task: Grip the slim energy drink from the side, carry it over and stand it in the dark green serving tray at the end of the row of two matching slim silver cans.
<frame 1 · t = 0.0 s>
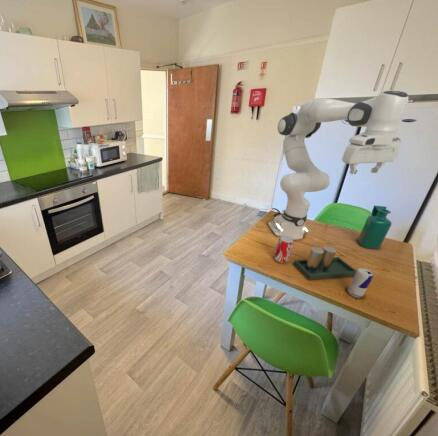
hand: (363, 173, 98), 48 cm above the table, tool pointing down, fingers open, 8 cm apart
soda can: (280, 260, 125), on the table
matching cans: (319, 259, 114), in the drinks tray
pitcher: (367, 244, 136), on the table
drinks tray: (323, 269, 117), on the table
energy drink: (354, 293, 103), on the table
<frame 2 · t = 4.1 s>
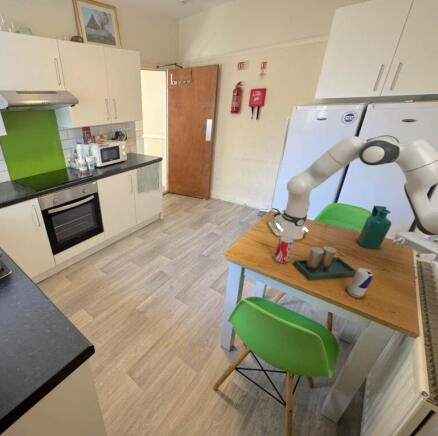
hand: (405, 249, 94), 22 cm above the table, tool horizontal, fingers open, 8 cm apart
nothing on the table moved.
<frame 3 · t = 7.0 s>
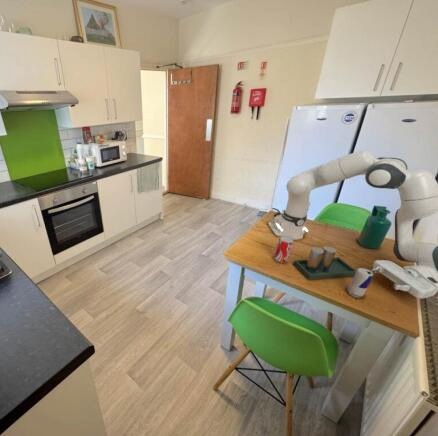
hand: (383, 278, 101), 7 cm above the table, tool horizontal, fingers open, 8 cm apart
nothing on the table moved.
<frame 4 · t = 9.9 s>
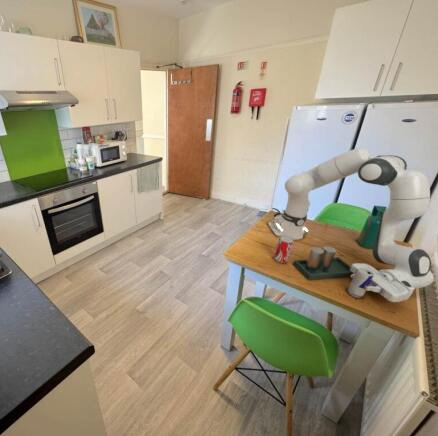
hand: (358, 282, 100), 7 cm above the table, tool horizontal, fingers closed on energy drink, 5 cm apart
energy drink: (354, 293, 103), on the table, touching gripper
everything else where it was.
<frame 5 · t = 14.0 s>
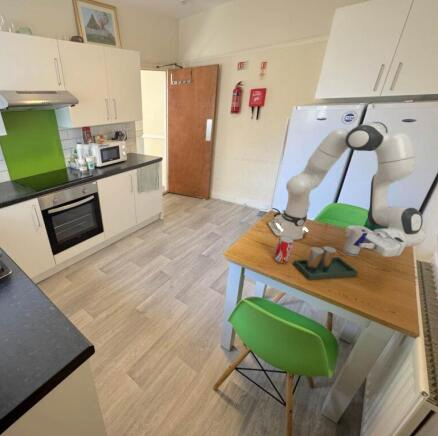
hand: (353, 240, 104), 20 cm above the table, tool horizontal, fingers closed on energy drink, 5 cm apart
energy drink: (349, 253, 108), point 13 cm above the table, touching gripper
everything else where it was.
when the fingers open (7 cm above the table, at t = 18.6 s): energy drink stays where it is, resting on drinks tray.
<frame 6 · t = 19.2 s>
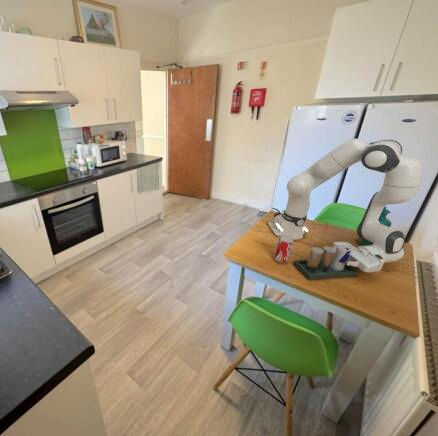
hand: (338, 256, 114), 7 cm above the table, tool horizontal, fingers open, 8 cm apart
energy drink: (335, 268, 118), resting on drinks tray
everything else where it was.
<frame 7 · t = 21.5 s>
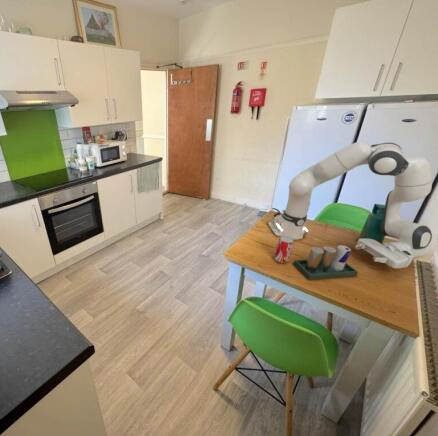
hand: (364, 253, 114), 9 cm above the table, tool horizontal, fingers open, 8 cm apart
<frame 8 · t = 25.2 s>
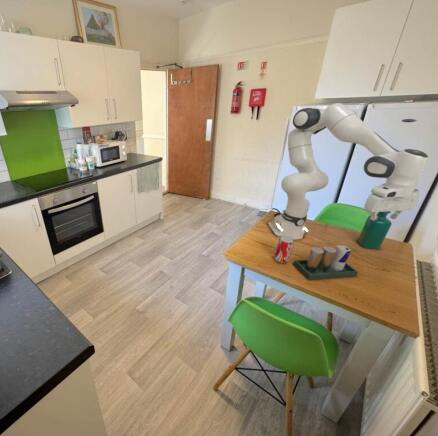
hand: (383, 219, 106), 27 cm above the table, tool pointing down, fingers open, 8 cm apart
at the end: energy drink inside the target area in the drinks tray (0.4 cm from its centre), point 0.3 cm above the drinks tray's base; energy drink tilted 0°; the gripper is holding nothing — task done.
